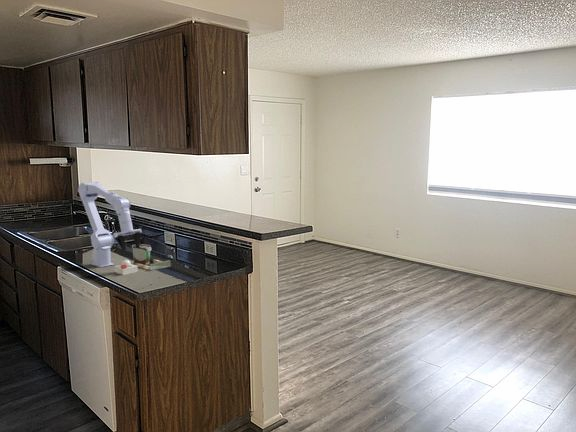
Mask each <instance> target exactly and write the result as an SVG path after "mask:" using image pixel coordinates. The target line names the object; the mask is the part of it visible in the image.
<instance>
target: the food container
mask: <svg viewBox="0 0 576 432" xmlns="http://www.w3.org/2000/svg"><path fill="white" fill-rule="evenodd" d="M131 249H132V256H133V257H132V258H133V265H135V263H139V264H143V265H146V266H150V264H151V262H150V260H151V259H150V258H151V251H152V247H151V245H150V244H145V243H142V244H141V243H140V247H139V248H136V246H135V244H132V245H131Z"/></svg>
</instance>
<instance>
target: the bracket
mask: <svg viewBox="0 0 576 432" xmlns="http://www.w3.org/2000/svg"><path fill="white" fill-rule="evenodd" d="M134 265H136V266H138V268H141V269H145V270H147V271H155V270H156V271H157V270H159V269H164V268H168V267H169V268H170V267H171V266H172V265H171V260H164V261H162V260H159V259H152V263H150V264H149V265H148V266H146V265H143V264H139V263H135V264H134Z"/></svg>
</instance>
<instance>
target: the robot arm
mask: <svg viewBox="0 0 576 432" xmlns="http://www.w3.org/2000/svg"><path fill="white" fill-rule="evenodd" d="M77 189H78V190H77V191H78V194H79V197H80V201H82V205H83V207H84V210H85V212H86V216H87V218H88V220H89V224H90V226H91V228H92V230H93V232H92V234H91V235H90V241H91V242H90V243H91V246H92V247H93V250H92V253H91V254H92V255H91V257H92V263H91V264H90V265H92V266H95V267H98V268H104V267H109V266H112V265H113V266H115V263H113V262H112V260H111V259H112V257H111V248H112V247H113V245H114V242H117V243H118V244H119V246H120V248H121V250H122V252H124V251H127V247H126V241H125V239H126V238H125V237H126V236H129V235H130V236H132V238H133V242H134V245H135V246H136V248H139V247H140V244H141V236H142V234H143V231H142V228H138V229H137V228H136V229H134V227H133V222H132V218H131V213H130V208H131V201H130V199H128V198H127V197H122V196H121V195H119V194H117V193H116V192H115V191H108V189H106V188H105V187H104V186H102V184H101V182H100V183H99V182H98V181H93V182H80V183H79V184H78V188H77ZM99 196H101V197H102V198H104V200H105V202H107V203H108V204H109V205H111V206H112V208H113V209H114V211H115V214H116V215H117V219H118V222H119V226H120V231H119V232H115V233H112V234H113V236H112V234H111V233H110V231H109V230H107V229H105V227H104V225H103V222H102V220H101V217H100V214H99V211H98V208H97V205H96V203H95V200H97V199H98V197H99ZM114 239H115V241H114Z"/></svg>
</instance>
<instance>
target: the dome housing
mask: <svg viewBox="0 0 576 432" xmlns="http://www.w3.org/2000/svg"><path fill="white" fill-rule="evenodd" d="M138 268H139V267H138V266H136V265H135V264H133V263H131V266H130V267H127V268H126V264H122V265H121V264H119V265H113V269H114V270H113V271H114V273H115V272H116V273H115V274H118V275H122V276H125V275H129V274H134V273H135V274H136V273H138V272H139V270H138Z"/></svg>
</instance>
